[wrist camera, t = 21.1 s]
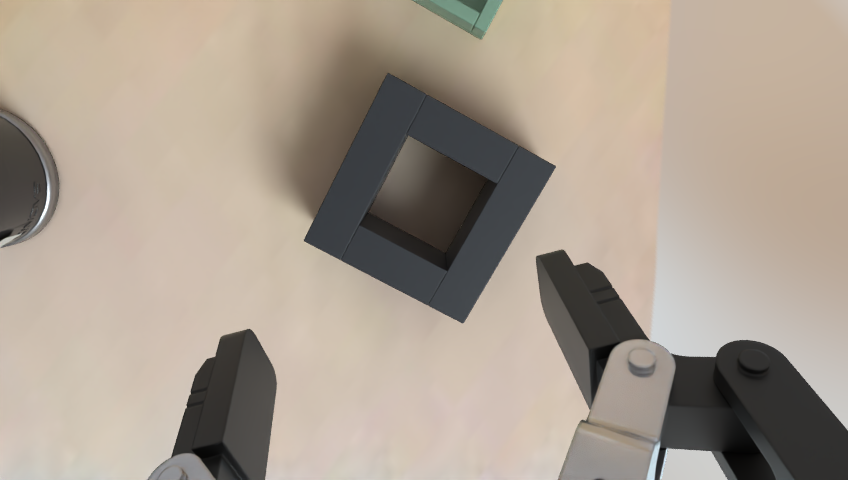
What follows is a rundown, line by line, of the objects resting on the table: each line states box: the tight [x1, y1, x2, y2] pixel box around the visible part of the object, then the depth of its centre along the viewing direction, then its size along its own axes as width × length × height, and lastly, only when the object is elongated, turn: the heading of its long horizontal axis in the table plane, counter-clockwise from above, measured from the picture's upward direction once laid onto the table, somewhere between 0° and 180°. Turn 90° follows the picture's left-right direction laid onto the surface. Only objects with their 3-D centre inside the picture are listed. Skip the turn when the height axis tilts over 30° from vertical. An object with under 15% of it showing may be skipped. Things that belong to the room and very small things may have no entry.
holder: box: [304, 73, 556, 323], centre depth 34 cm, size 11×11×4 cm
